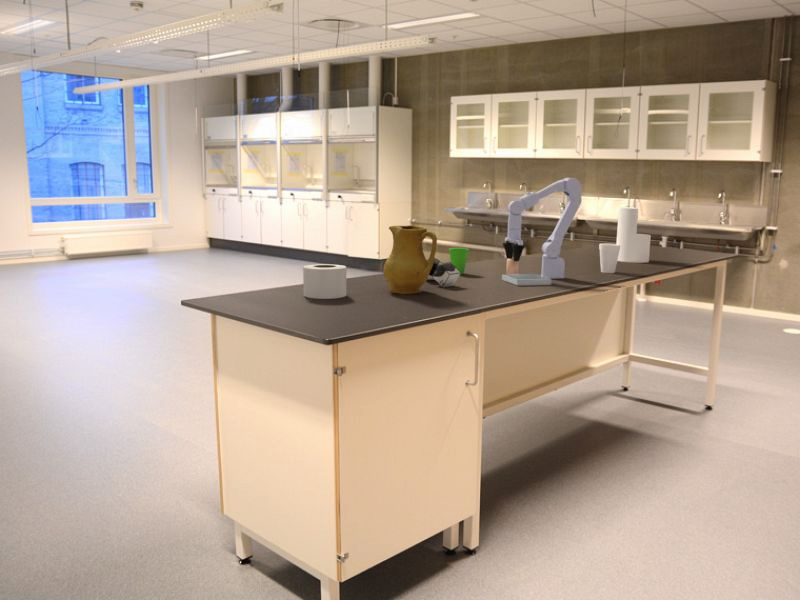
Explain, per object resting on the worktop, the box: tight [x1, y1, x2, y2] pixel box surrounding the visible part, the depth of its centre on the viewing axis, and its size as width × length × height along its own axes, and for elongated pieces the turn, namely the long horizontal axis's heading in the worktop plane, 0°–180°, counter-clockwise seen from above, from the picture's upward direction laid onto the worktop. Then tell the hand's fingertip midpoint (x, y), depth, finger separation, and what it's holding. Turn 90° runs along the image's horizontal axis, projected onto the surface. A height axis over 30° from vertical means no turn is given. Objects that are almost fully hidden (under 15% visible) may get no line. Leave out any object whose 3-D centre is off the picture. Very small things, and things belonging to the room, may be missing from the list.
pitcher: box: [383, 224, 438, 295], centre depth 275 cm, size 17×19×25 cm
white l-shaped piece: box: [615, 206, 652, 264], centre depth 391 cm, size 17×17×28 cm
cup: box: [448, 247, 470, 275], centre depth 329 cm, size 9×9×11 cm
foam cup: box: [598, 242, 620, 274], centre depth 344 cm, size 10×9×13 cm
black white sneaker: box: [426, 257, 462, 288], centre depth 299 cm, size 25×10×10 cm, turn 21°
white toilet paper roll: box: [302, 263, 347, 300], centre depth 265 cm, size 16×15×11 cm
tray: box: [501, 273, 552, 287], centre depth 307 cm, size 15×15×2 cm
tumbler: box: [505, 257, 520, 275], centre depth 322 cm, size 5×5×8 cm
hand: (512, 260), depth 321 cm, fingers open, 7 cm apart
